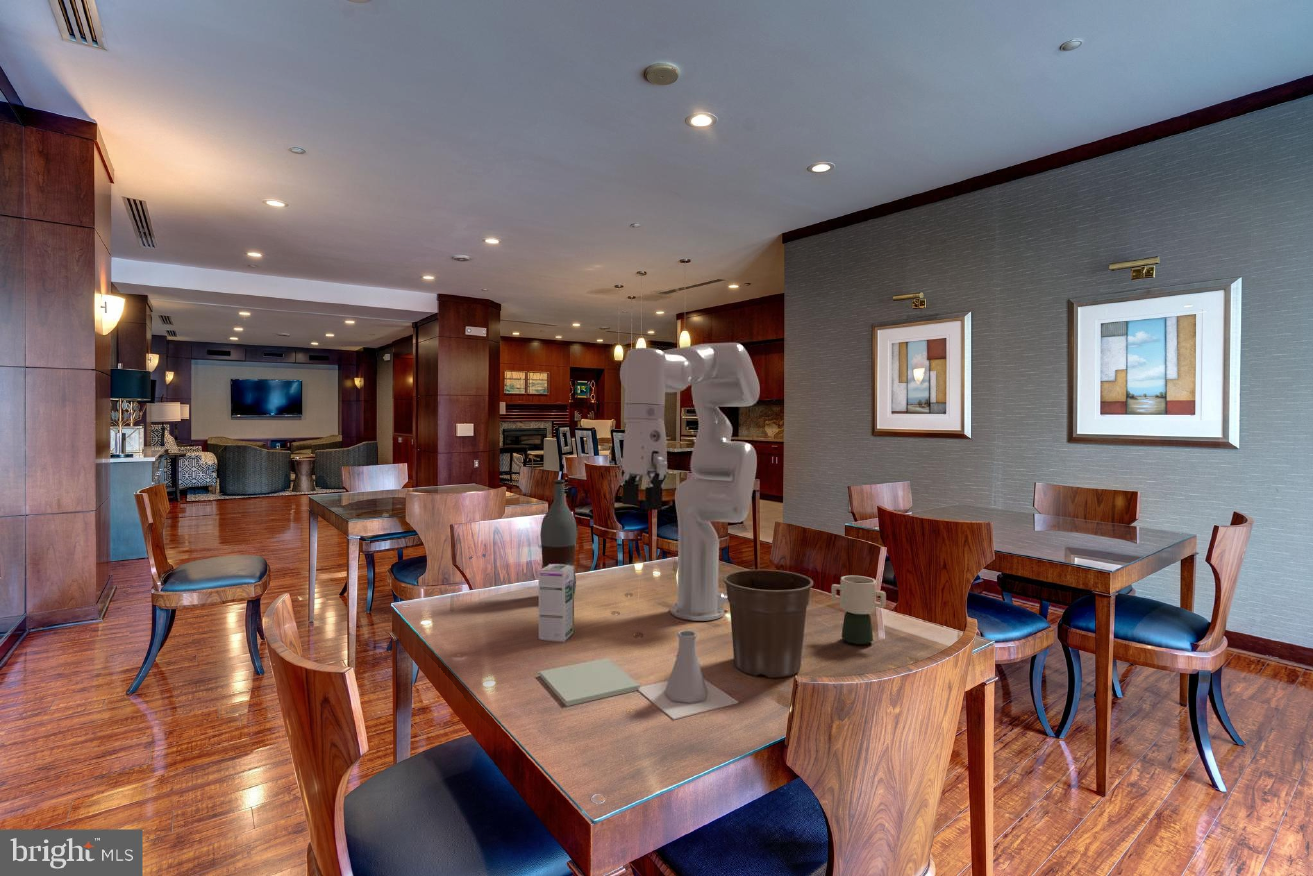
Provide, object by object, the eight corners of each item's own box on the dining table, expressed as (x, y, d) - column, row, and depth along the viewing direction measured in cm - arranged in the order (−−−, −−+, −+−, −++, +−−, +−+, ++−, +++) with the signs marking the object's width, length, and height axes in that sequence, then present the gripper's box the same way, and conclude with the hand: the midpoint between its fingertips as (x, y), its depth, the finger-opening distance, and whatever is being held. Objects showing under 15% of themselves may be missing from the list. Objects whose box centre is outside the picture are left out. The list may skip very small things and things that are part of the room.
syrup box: (564, 642, 122) (565, 570, 121) (537, 640, 123) (538, 569, 123) (574, 633, 127) (575, 564, 127) (547, 630, 128) (548, 562, 128)
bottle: (577, 603, 149) (579, 481, 149) (539, 604, 147) (541, 481, 147) (574, 592, 158) (576, 478, 158) (538, 594, 156) (540, 478, 156)
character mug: (888, 642, 125) (889, 579, 125) (881, 652, 119) (882, 587, 119) (835, 632, 131) (836, 572, 130) (825, 641, 125) (827, 579, 124)
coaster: (607, 662, 112) (607, 658, 112) (640, 689, 100) (640, 684, 100) (539, 675, 105) (539, 671, 105) (566, 706, 94) (566, 701, 94)
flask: (661, 685, 101) (662, 626, 101) (704, 684, 102) (705, 625, 102) (666, 705, 94) (667, 641, 94) (712, 704, 95) (713, 640, 95)
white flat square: (696, 675, 106) (696, 674, 106) (738, 703, 96) (738, 701, 96) (636, 689, 100) (636, 687, 100) (673, 720, 90) (673, 718, 90)
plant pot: (703, 660, 113) (705, 575, 113) (764, 643, 123) (765, 564, 123) (768, 692, 100) (770, 595, 100) (829, 670, 110) (831, 582, 110)
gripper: (684, 414, 107) (681, 511, 107) (642, 417, 122) (639, 502, 122) (646, 412, 103) (643, 512, 103) (607, 415, 119) (604, 502, 119)
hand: (641, 506), depth 113 cm, fingers open, 9 cm apart
